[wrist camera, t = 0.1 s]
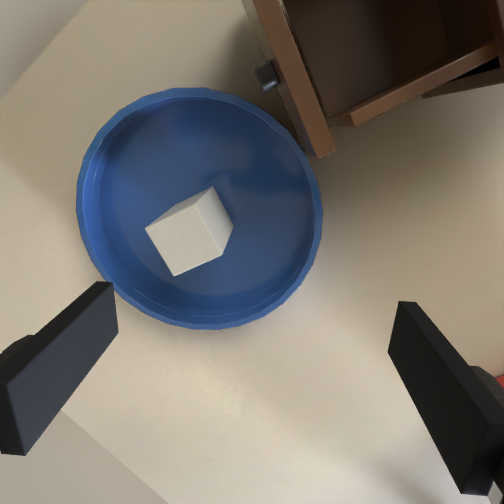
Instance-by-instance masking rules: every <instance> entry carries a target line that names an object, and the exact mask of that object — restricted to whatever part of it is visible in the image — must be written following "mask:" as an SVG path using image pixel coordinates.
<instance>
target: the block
mask: <svg viewBox="0 0 504 504" xmlns="http://www.w3.org/2000/svg"><path fill="white" fill-rule="evenodd" d="M233 227H234V225H233V223H232V221H231V219H230V217H229V215H228V214H227V212H226V210H225V208H224V206H223V204H222V202H221V200H220V198H219V196H218V194H217V192H216V191H215V189H214V187H213V186H212V187H210V188H208V189H206V190H204V191H202V192H200V193H198V194H196V195H194V196H192V197H190V198H188V199H186V200H184V201H182V202H180V203H178V204H176V205H174V206H173V207H172V208H170V209H169V210H168V211H166V212H165V213H164V214H163V215H161V216H160V217H159V218H157V219H156V220H155V221H154V222H152V223H151V224H150V225H148V226H147V227H146V228H145V230H146V232H147V233H148V235H149V237H150V238H151V240H152V241H153V243H154V245H155V246H156V248H157V250H158V251H159V253H160V255H161V256H162V258H163V259H164V261H165V263H166V264H167V266H168V268H169V269H170V271H171V273H172V274H173V276H176V275H179V274H181V273H183V272H185V271H187V270H190V269H192V268H194V267H196V266H199V265H201V264H203V263H205V262H207V261H210V260H212V259H214V258H216V257H219V256H221V255H222V254H223V251H224V249H225V246H226V244H227V241H228V239H229V237H230V234H231V232H232V229H233Z"/></svg>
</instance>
